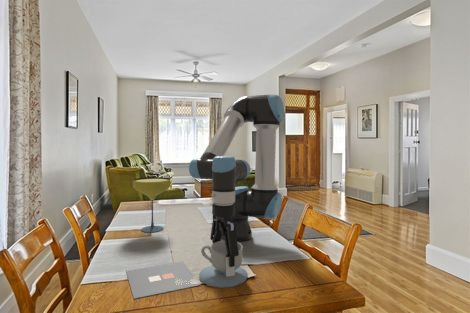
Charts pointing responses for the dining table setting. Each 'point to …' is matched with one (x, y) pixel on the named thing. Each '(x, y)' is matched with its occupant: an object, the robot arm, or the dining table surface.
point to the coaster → (222, 277)
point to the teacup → (221, 255)
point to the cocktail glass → (151, 194)
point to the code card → (159, 279)
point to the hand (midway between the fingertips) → (223, 268)
